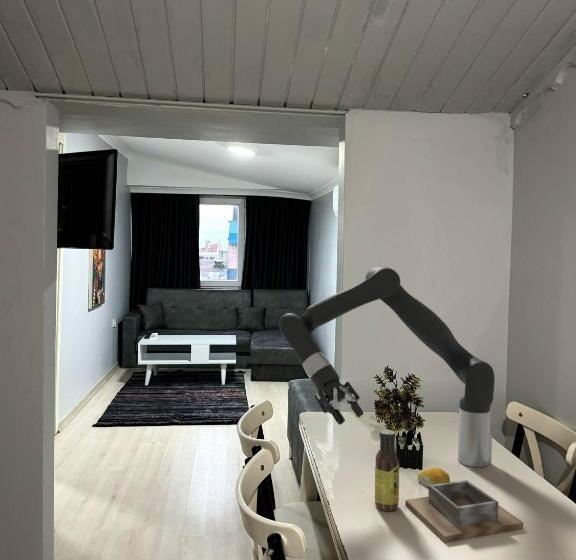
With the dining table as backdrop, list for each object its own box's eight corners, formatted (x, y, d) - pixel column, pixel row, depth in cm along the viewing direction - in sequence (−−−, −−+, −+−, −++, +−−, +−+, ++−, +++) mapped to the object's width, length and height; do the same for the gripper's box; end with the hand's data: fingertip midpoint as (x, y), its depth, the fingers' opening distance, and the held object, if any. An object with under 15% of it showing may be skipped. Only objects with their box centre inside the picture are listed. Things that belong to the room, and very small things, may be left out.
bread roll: (455, 484, 149) (455, 470, 148) (434, 492, 144) (434, 478, 144) (432, 473, 156) (433, 460, 155) (412, 480, 151) (412, 467, 150)
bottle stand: (476, 494, 142) (476, 473, 142) (523, 528, 125) (524, 504, 124) (405, 505, 136) (405, 483, 135) (444, 542, 118) (445, 517, 118)
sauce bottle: (398, 513, 131) (400, 437, 130) (374, 511, 133) (375, 435, 131) (398, 501, 138) (399, 429, 137) (374, 499, 139) (376, 427, 138)
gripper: (311, 368, 142) (344, 418, 135) (342, 360, 152) (374, 406, 145) (297, 383, 146) (328, 432, 139) (328, 374, 156) (359, 420, 149)
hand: (351, 419), depth 142 cm, fingers open, 8 cm apart
